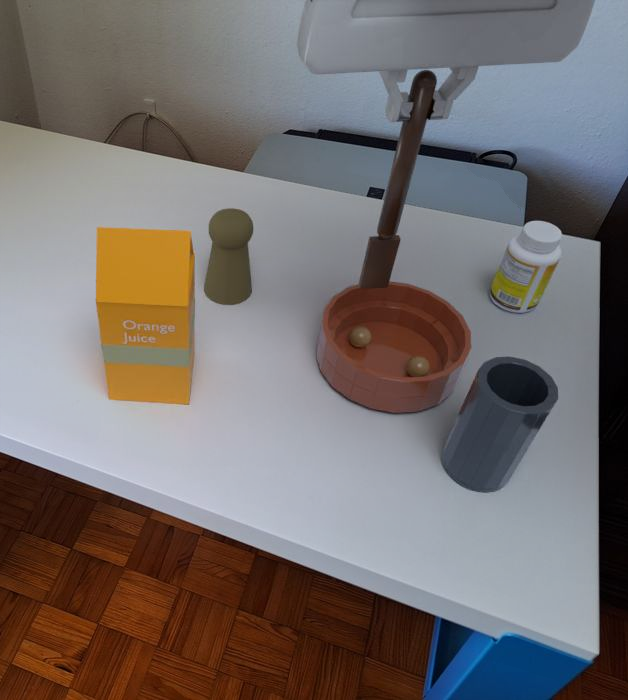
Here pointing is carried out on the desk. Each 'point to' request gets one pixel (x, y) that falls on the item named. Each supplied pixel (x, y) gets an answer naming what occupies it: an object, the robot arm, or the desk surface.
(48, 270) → the desk surface
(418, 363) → the bead
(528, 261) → the supplement bottle
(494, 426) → the crock
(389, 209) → the stir paddle
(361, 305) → the bowl
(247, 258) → the olive game pawn
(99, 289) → the orange juice
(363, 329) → the bead
